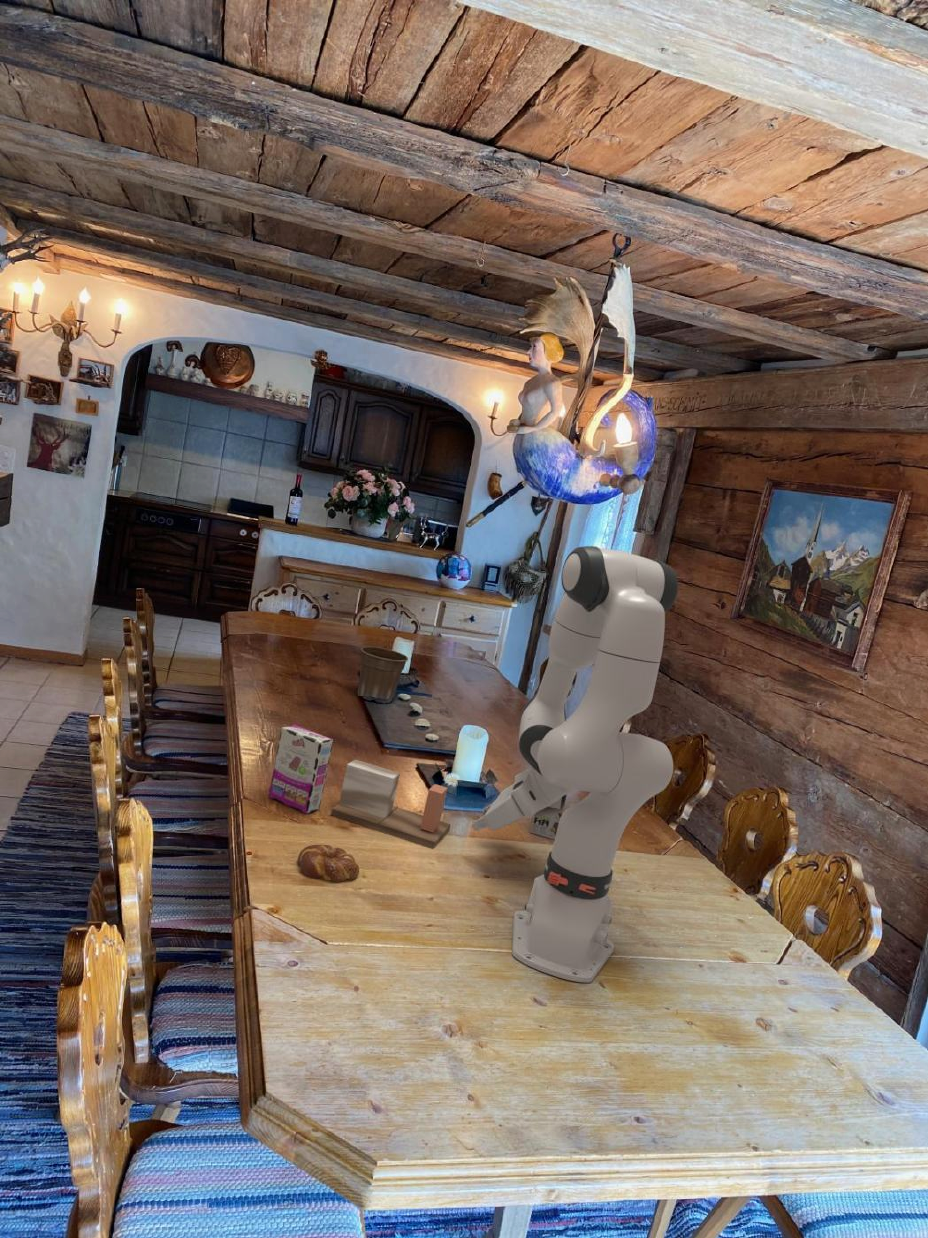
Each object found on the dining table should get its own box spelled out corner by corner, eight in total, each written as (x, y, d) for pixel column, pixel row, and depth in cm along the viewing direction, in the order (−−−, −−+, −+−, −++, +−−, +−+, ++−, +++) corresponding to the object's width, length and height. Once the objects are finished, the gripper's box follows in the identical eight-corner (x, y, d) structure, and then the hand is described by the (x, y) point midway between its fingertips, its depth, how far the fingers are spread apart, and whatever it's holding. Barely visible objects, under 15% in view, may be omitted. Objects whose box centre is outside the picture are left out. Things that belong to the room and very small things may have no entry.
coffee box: (555, 840, 201) (571, 775, 199) (528, 833, 202) (544, 768, 200) (558, 827, 210) (574, 765, 208) (533, 820, 211) (548, 758, 209)
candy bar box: (320, 809, 189) (335, 739, 187) (306, 815, 185) (321, 743, 182) (281, 792, 194) (294, 723, 192) (266, 797, 190) (280, 726, 187)
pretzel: (367, 870, 166) (371, 852, 166) (344, 892, 156) (348, 873, 155) (312, 850, 169) (316, 833, 169) (286, 871, 159) (289, 852, 158)
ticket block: (433, 848, 182) (444, 801, 180) (330, 815, 187) (340, 768, 186) (449, 830, 193) (459, 785, 192) (352, 799, 199) (361, 755, 197)
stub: (433, 832, 185) (441, 793, 184) (420, 828, 186) (428, 789, 185) (439, 826, 190) (447, 788, 188) (426, 822, 190) (434, 784, 189)
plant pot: (408, 703, 294) (417, 658, 292) (379, 708, 280) (389, 661, 278) (371, 689, 302) (380, 645, 300) (341, 693, 288) (351, 647, 286)
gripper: (533, 765, 191) (482, 793, 195) (515, 790, 171) (459, 822, 175) (548, 789, 191) (497, 818, 194) (532, 818, 171) (475, 849, 175)
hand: (478, 820), depth 185 cm, fingers open, 8 cm apart
